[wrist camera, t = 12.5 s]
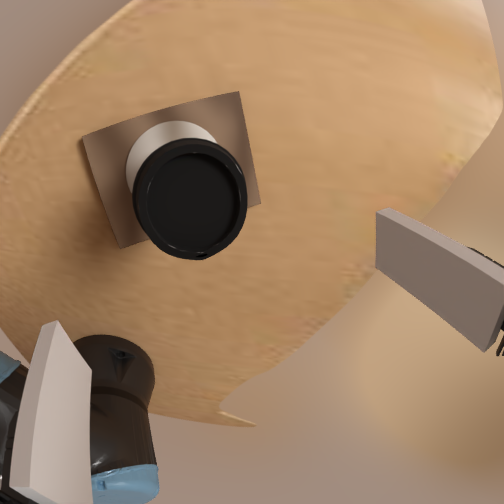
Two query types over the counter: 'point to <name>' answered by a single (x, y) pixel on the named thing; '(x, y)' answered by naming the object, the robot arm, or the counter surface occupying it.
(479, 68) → the counter surface
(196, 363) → the counter surface
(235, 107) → the board
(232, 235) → the coffee cup
